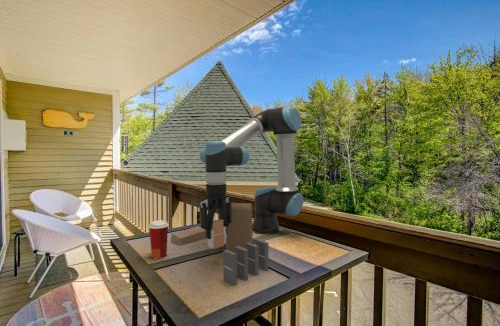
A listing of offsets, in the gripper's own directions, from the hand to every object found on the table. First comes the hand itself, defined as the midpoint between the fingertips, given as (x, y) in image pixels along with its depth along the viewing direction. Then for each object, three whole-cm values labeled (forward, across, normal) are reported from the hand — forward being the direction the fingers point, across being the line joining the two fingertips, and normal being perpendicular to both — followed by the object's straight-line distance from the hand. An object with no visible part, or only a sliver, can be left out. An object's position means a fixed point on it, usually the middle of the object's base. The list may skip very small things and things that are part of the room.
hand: (217, 244), depth 98 cm
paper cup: (+8, +12, -23) cm, 27 cm away
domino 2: (+8, 0, +13) cm, 15 cm away
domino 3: (+8, -6, +13) cm, 16 cm away
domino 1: (+8, +4, +13) cm, 16 cm away
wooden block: (+8, -16, -5) cm, 18 cm away
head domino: (+1, 0, 0) cm, 1 cm away
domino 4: (+8, -10, +13) cm, 19 cm away
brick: (+9, -7, -32) cm, 34 cm away
